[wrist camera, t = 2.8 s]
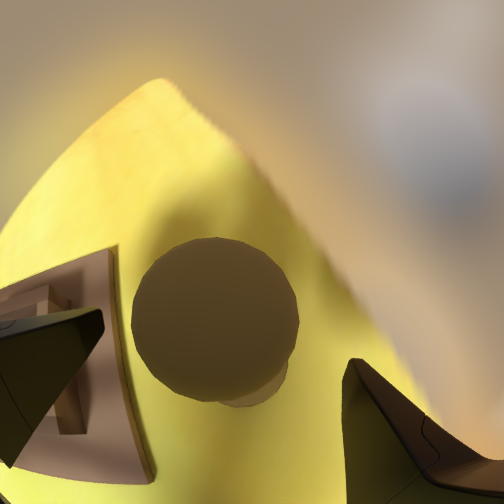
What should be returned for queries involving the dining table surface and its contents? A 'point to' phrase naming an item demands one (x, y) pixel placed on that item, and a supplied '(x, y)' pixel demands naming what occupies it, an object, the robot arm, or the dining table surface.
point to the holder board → (83, 382)
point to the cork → (216, 322)
